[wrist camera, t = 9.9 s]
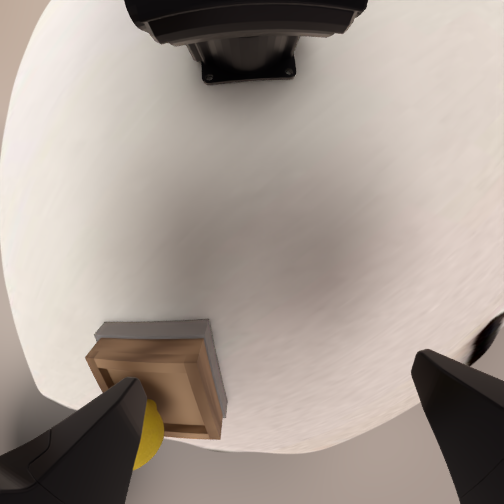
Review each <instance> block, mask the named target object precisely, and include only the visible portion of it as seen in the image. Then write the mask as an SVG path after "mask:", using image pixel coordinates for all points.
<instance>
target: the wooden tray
mask: <svg viewBox="0 0 504 504" xmlns="http://www.w3.org/2000/svg"><path fill="white" fill-rule="evenodd" d="M85 359H86V361H87V363H88V365H89V367H90V369H91V371H92V373H93V375H94V377H95V379H96V381H97V383H98V385H99V387H100V388H101V390H102V392H103V393H104V392H105V391H107V390H108V389H110V388H111V387H112V386H114V385H115V384H117V383H118V382H120V381H121V380H122V379H124V378H125V377H136V378H138V379H139V380H140V382H141V384H142V386H143V389H144V391H145V393H146V396H147V399H151V400H153V401H154V402H155V403H156V405H157V411H158V413H159V414H160V416H161V418H162V421H163V425H164V436H166V437H176V438H190V439H217V440H220V438H221V428H222V418H223V414H222V411H221V407H220V403H219V400H218V396H217V392H216V388H215V384H214V380H213V376H212V372H211V368H210V364H209V360H208V356H207V352H206V347H205V343H204V338H198V339H121V338H100V339H99V340H98V342H97V343H96V344H95V345H94V347H93V348H92V349H91V351H90V352H89V353H88V354H87V356H86V357H85Z"/></svg>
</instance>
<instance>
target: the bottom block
mask: <svg viewBox="0 0 504 504" xmlns="http://www.w3.org/2000/svg"><path fill="white" fill-rule="evenodd" d="M94 336H95V338H96V341H97V342H98V340H99V339H100V338H121V339H198V338H204V343H205V347H206V352H207V356H208V360H209V364H210V368H211V372H212V376H213V380H214V384H215V388H216V392H217V396H218V400H219V403H220V407H221V411H222V414H223V418H226V412H227V398H226V394H225V390H224V386H223V382H222V378H221V373H220V369H219V364H218V360H217V356H216V351H215V346H214V342H213V337H212V332H211V327H210V322H209V319H204V320H185V321H157V322H104V324H103V325H102V326H101V327H100V328H99V329H98V331H97V332H96V333H95V334H94Z"/></svg>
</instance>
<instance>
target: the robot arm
mask: <svg viewBox="0 0 504 504" xmlns="http://www.w3.org/2000/svg"><path fill="white" fill-rule="evenodd" d="M124 1H125V5H126V8H127V11H128V13H129V16H130V18H131V19H132V21H133V23H134V24H135V25H136V26H137V27H138V28H139V29H141V30H143V31H145V32H148V33H149V34H150V35H151V37H152V38H153V39H154V40H155V41H156V42H158V43H160V44H165V43H170V44H171V45H174V46H181V45H186V46H187V48H188V49H189V51H190V53H191V55H192V57H193V59H194V60H195V61H197V62H199V61H201V65H202V79H203V82H204V83H205V84H207V85H214V84H222V83H232V82H243V81H257V80H281V79H293V78H294V77H295V75H296V66H295V59H294V51H295V48H296V45H297V43H298V40H299V37H300V36H311V37H325V38H327V37H329V36H332V35H333V34H334V33H338V34H343V33H344V32H346V31H347V30H348V28H349V27H350V26H351V24H352V23H353V21H354V19H355V18H356V17H358V16H359V15H361V13H362V12H364V10H365V9H366V7H367V2H368V0H124ZM287 70H289V71H291V72H292V74H290V75H289V74H287V73H286V71H287ZM208 76H212V77H213V78H212V79H211V80H207V77H208ZM411 375H412V379H413V381H414V384H415V387H416V390H417V392H418V395H419V398H420V401H421V404H422V407H423V410H424V412H425V414H426V417H427V419H428V421H429V423H430V426H431V428H432V430H433V432H434V435H435V437H436V439H437V442H438V444H439V446H440V449H441V451H442V454H443V456H444V459H445V461H446V463H447V466H448V469H449V471H450V474H451V477H452V480H453V483H454V485H455V488H456V491H457V494H458V497H459V501H460V504H504V381H503V380H500V379H498V378H495V377H493V376H491V375H488V374H486V373H484V372H481V371H479V370H476V369H474V368H472V367H469V366H467V365H465V364H462V363H460V362H458V361H455V360H453V359H451V358H448V357H446V356H444V355H441V354H439V353H437V352H435V351H432V350H430V349H425V350H421V351H419V352H417V354H416V356H415V360H414V363H413V366H412V370H411ZM146 404H147V396H146V393H145V391H144V389H143V386H142V384H141V382H140V380H139V379H138V378H136V377H125V378H124V379H122V380H121V381H120V382H118V383H117V384H115V385H114V386H112V387H111V388H110V389H108V390H107V391H105V392H104V393H102V394H101V395H99V396H98V397H97V398H95V399H94V400H92V401H91V402H89V403H88V404H86V405H85V406H83V407H82V408H80V409H79V410H78V411H76V412H75V413H73V414H72V415H70V416H69V417H67V418H66V419H64V420H63V421H61V422H60V423H58V424H57V425H55V426H54V427H52V428H51V429H49V430H47V431H46V432H44V433H43V434H41V435H40V436H38V437H36V438H35V439H33V440H31V441H29V442H27V443H25V444H24V445H22V446H20V447H18V448H16V449H13V450H11V451H9V452H7V453H5V454H3V455H1V456H0V504H125V500H126V496H127V492H128V487H129V483H130V479H131V475H132V471H133V467H134V463H135V459H136V456H137V452H138V448H139V444H140V440H141V435H142V429H143V422H144V416H145V410H146Z"/></svg>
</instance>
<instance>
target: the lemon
mask: <svg viewBox="0 0 504 504" xmlns="http://www.w3.org/2000/svg"><path fill="white" fill-rule="evenodd" d="M163 438H164V425H163V421H162V418H161V416H160V414H159V413H158V411H157V405H156V403H155V402H154V401H153V400H151V399H147V404H146V410H145V416H144V422H143V429H142V435H141V440H140V444H139V448H138V452H137V456H136V459H135V463H134V467H133V470H135V469H137V468H139V467H141V466H143V465H144V464H146V463H147V462H148V461H149V460H150V459H151V458H152V457H153V456H154V455H155V454H156V452H157V451H158V449H159V447H160V445H161V443H162V441H163Z"/></svg>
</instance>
